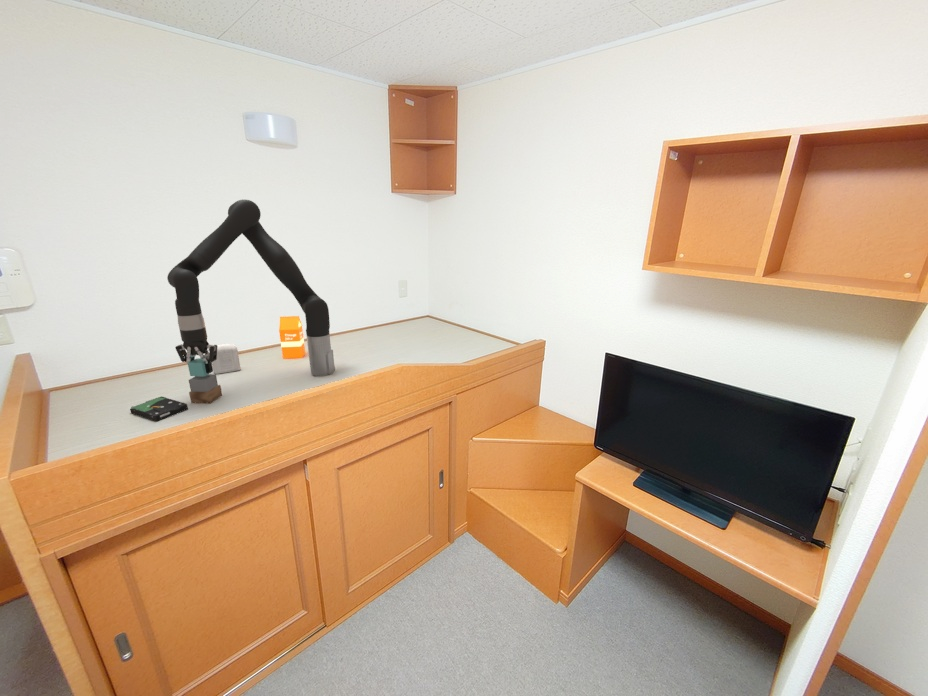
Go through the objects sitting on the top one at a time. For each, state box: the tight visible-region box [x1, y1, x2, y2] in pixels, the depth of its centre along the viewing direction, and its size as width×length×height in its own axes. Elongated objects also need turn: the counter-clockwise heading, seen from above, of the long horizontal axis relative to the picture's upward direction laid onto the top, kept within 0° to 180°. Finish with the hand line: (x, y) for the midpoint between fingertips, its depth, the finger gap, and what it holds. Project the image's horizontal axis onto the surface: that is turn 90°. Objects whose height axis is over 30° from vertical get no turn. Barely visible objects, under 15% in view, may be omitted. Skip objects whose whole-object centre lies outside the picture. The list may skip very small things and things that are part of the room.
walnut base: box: [188, 384, 223, 404], centre depth 144 cm, size 7×7×4 cm
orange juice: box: [278, 315, 306, 360], centre depth 190 cm, size 8×9×20 cm
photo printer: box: [212, 343, 241, 375], centre depth 171 cm, size 10×4×12 cm, turn 123°
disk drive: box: [129, 396, 189, 423], centre depth 135 cm, size 10×3×15 cm
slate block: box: [188, 373, 219, 392], centre depth 143 cm, size 6×6×4 cm
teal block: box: [187, 357, 214, 377], centre depth 141 cm, size 5×5×5 cm
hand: (201, 372), depth 142 cm, fingers closed on teal block, 5 cm apart
